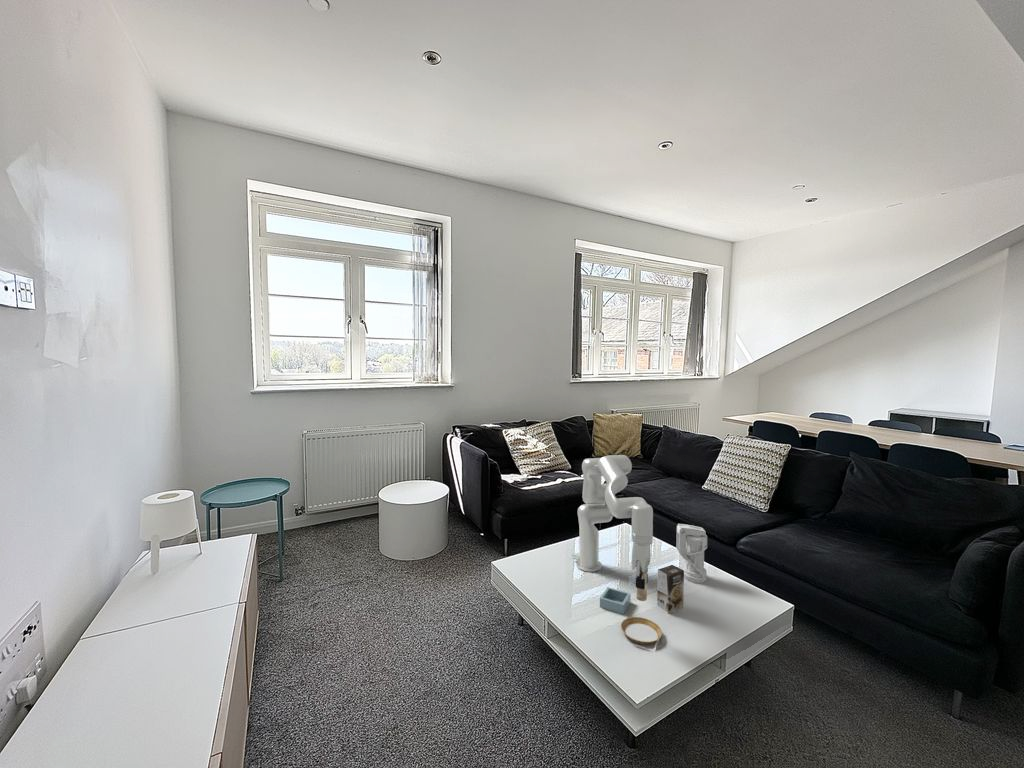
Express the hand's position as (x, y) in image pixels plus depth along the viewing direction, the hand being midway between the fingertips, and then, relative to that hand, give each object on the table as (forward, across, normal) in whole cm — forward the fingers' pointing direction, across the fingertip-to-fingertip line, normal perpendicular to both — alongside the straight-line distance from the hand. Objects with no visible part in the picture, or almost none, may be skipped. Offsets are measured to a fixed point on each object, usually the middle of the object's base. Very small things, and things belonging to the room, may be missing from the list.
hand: (641, 585), depth 155 cm
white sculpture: (+19, -54, +10) cm, 58 cm away
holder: (+19, -13, -14) cm, 27 cm away
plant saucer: (+20, 0, 0) cm, 20 cm away
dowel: (+5, 0, 0) cm, 5 cm away
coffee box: (+19, -24, +6) cm, 32 cm away
